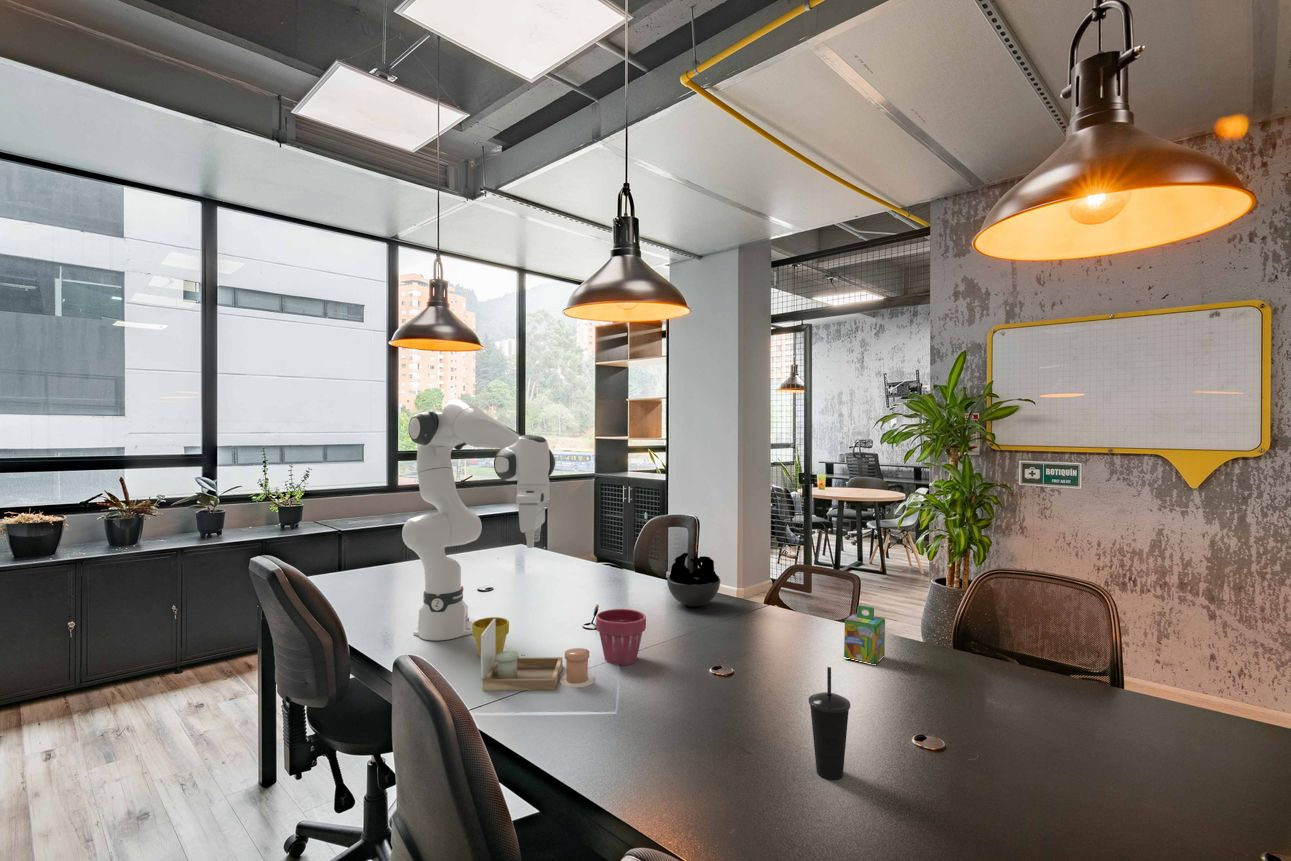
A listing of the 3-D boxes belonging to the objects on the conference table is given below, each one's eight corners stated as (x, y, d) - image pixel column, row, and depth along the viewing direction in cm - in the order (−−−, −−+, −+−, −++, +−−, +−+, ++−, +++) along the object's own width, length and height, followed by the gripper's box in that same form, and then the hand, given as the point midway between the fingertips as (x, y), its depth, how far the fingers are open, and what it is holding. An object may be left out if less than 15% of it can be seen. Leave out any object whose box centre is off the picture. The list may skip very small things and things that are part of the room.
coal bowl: (723, 613, 224) (723, 561, 224) (667, 613, 224) (667, 560, 224) (717, 598, 244) (717, 550, 244) (666, 598, 244) (666, 550, 244)
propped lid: (493, 660, 170) (493, 618, 170) (496, 660, 170) (496, 618, 170) (480, 680, 156) (480, 635, 156) (484, 680, 156) (484, 635, 156)
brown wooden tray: (496, 668, 171) (496, 657, 171) (562, 668, 171) (562, 657, 171) (482, 692, 155) (482, 680, 155) (554, 692, 155) (554, 680, 155)
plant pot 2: (653, 655, 181) (653, 611, 181) (632, 672, 168) (632, 625, 168) (610, 648, 187) (610, 606, 187) (586, 664, 174) (586, 618, 174)
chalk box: (843, 659, 177) (843, 608, 177) (853, 650, 185) (853, 601, 185) (876, 667, 172) (876, 613, 172) (885, 657, 179) (885, 606, 179)
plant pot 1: (499, 663, 175) (499, 628, 175) (465, 660, 177) (465, 626, 177) (514, 651, 185) (514, 618, 185) (482, 648, 187) (482, 616, 187)
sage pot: (498, 673, 166) (498, 650, 166) (520, 673, 166) (520, 650, 166) (493, 682, 160) (493, 658, 160) (516, 682, 160) (516, 658, 160)
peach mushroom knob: (566, 674, 164) (566, 648, 164) (590, 674, 164) (590, 647, 164) (563, 684, 158) (563, 656, 158) (588, 684, 158) (588, 656, 158)
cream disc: (561, 675, 166) (561, 672, 166) (595, 675, 166) (595, 672, 166) (557, 689, 157) (557, 686, 157) (593, 689, 157) (593, 686, 157)
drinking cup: (803, 763, 121) (802, 660, 122) (841, 761, 122) (840, 659, 122) (817, 785, 114) (816, 676, 114) (857, 783, 114) (857, 674, 115)
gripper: (528, 490, 182) (528, 538, 181) (514, 497, 161) (514, 551, 161) (550, 490, 182) (550, 538, 182) (539, 497, 161) (539, 551, 161)
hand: (533, 544), depth 171 cm, fingers open, 8 cm apart
